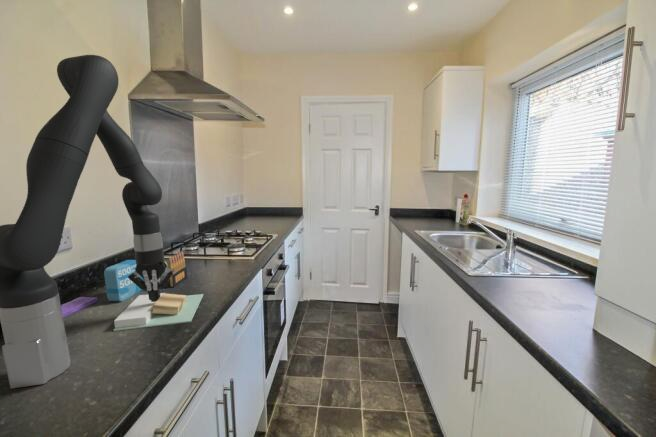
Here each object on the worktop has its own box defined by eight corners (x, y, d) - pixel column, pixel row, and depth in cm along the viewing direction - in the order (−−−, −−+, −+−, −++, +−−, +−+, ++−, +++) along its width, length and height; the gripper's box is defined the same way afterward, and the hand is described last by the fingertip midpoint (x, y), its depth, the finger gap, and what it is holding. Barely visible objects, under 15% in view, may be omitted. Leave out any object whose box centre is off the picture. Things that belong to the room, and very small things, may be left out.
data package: (119, 303, 101) (115, 269, 99) (107, 302, 102) (102, 269, 100) (145, 289, 113) (141, 258, 111) (134, 289, 113) (130, 258, 112)
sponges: (98, 302, 103) (97, 297, 103) (60, 320, 91) (59, 314, 91) (81, 301, 104) (80, 296, 104) (41, 318, 92) (40, 313, 92)
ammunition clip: (174, 287, 114) (170, 257, 112) (169, 287, 114) (165, 257, 112) (187, 277, 124) (184, 250, 123) (183, 277, 124) (180, 250, 123)
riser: (146, 324, 85) (145, 317, 85) (115, 328, 84) (114, 320, 83) (165, 298, 103) (165, 292, 102) (140, 301, 101) (139, 295, 101)
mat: (190, 322, 87) (190, 320, 87) (113, 331, 83) (113, 329, 83) (203, 294, 106) (203, 293, 106) (141, 301, 102) (141, 300, 102)
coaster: (177, 314, 91) (178, 307, 90) (152, 313, 89) (153, 305, 89) (185, 302, 99) (186, 295, 99) (162, 300, 98) (163, 293, 98)
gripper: (118, 252, 86) (126, 308, 89) (168, 248, 89) (174, 303, 91) (129, 246, 93) (136, 298, 96) (175, 242, 96) (180, 293, 99)
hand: (155, 300), depth 94 cm, fingers closed
